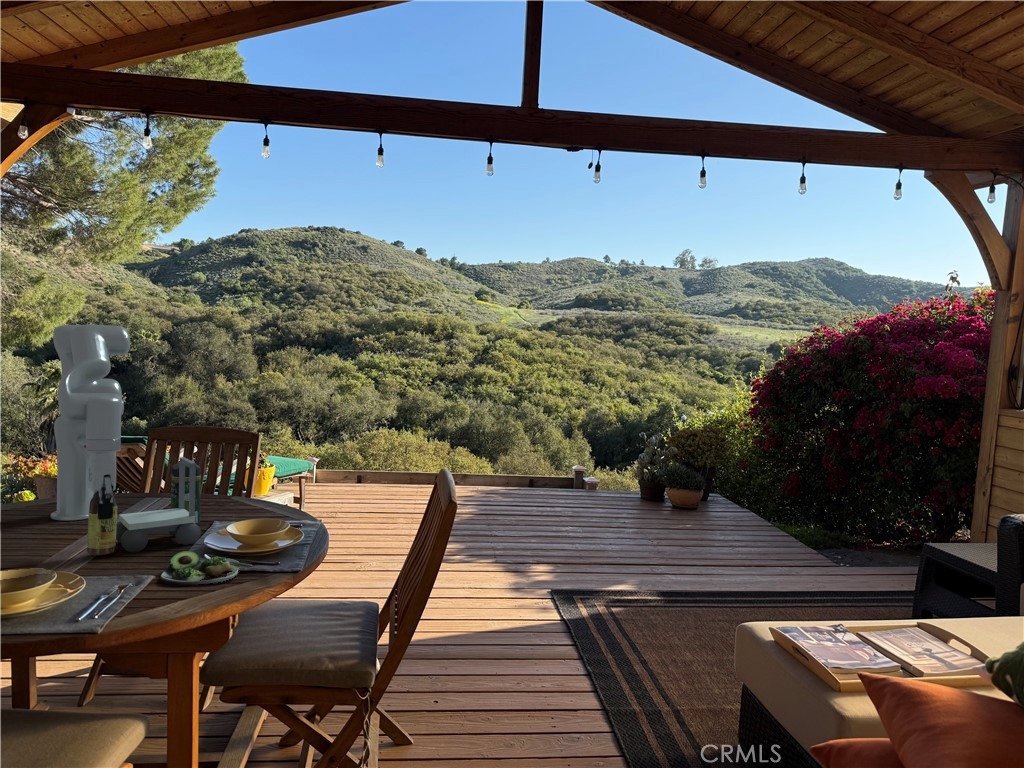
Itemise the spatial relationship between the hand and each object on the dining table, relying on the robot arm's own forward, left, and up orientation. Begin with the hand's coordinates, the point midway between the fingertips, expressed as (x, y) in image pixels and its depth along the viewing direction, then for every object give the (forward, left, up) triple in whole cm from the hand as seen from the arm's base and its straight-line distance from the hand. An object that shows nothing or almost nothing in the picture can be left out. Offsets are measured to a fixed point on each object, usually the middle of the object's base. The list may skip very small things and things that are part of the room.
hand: (102, 515), depth 175 cm
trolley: (-5, +14, -10) cm, 18 cm away
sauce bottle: (0, 0, -10) cm, 10 cm away
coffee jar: (-23, +26, -11) cm, 36 cm away
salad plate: (+27, +16, -11) cm, 33 cm away
